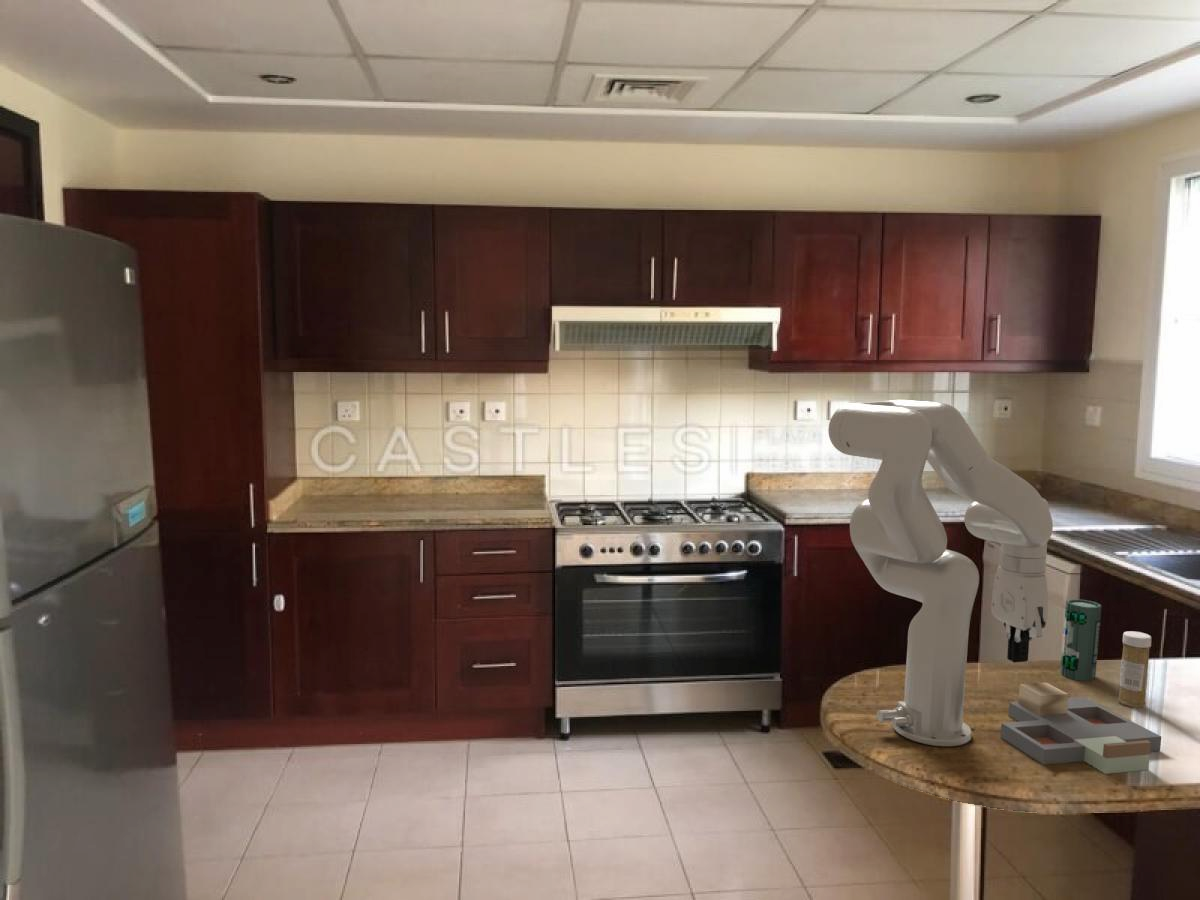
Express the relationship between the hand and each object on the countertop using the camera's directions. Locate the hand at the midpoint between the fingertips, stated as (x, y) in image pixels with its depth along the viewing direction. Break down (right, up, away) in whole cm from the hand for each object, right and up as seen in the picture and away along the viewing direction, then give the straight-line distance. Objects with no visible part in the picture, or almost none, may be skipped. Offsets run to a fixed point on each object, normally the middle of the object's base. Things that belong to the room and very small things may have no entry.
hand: (1017, 660), depth 170 cm
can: (+20, -7, +17) cm, 27 cm away
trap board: (+3, -10, -15) cm, 18 cm away
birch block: (+1, -7, -8) cm, 10 cm away
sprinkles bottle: (+22, -9, +2) cm, 24 cm away
